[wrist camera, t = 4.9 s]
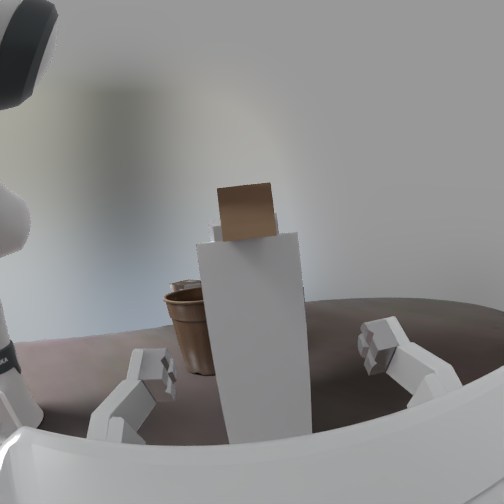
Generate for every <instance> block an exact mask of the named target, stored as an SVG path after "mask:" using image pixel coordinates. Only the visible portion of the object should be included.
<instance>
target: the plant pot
mask: <svg viewBox="0 0 504 504" xmlns="http://www.w3.org/2000/svg"><path fill="white" fill-rule="evenodd" d="M163 299H164V301H165V302H166V304H167V308H168V311H169V315H170V317H171V318H172V321H173V325H174V328H175V332H176V335H177V339H178V342H179V346H180V349H181V353H182V357H183V360H184V364H185V367H186V369H187V370H188V371H189V372H191V373H193V374H196V373H200V374H202V375H216V373H215V368H214V362H213V356H212V350H211V344H210V338H209V332H208V326H207V319H206V313H205V306H204V300H203V293H202V286H200V287H194V288H188V289H183V290H179V291H175V292H171V293H169V294H167V295H165V296H164V298H163Z"/></svg>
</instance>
